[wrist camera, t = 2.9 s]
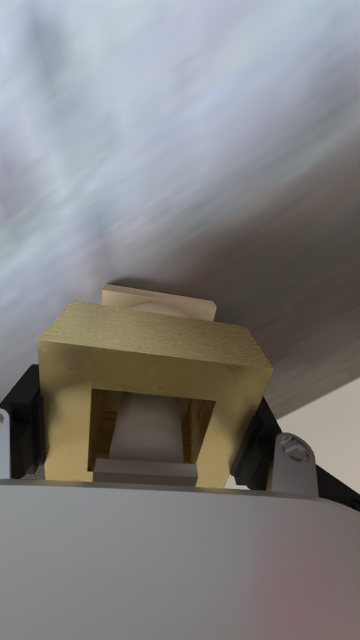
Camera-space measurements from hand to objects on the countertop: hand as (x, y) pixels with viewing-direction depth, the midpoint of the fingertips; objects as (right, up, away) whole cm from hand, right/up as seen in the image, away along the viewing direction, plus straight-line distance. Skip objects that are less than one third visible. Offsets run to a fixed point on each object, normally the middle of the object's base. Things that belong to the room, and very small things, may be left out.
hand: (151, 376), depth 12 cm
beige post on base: (0, +2, +3) cm, 4 cm away
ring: (0, 0, 0) cm, 0 cm away
